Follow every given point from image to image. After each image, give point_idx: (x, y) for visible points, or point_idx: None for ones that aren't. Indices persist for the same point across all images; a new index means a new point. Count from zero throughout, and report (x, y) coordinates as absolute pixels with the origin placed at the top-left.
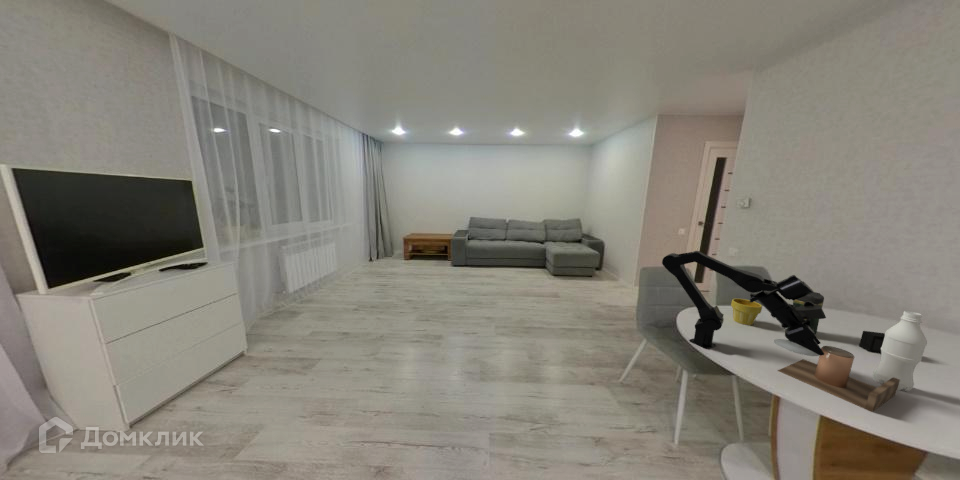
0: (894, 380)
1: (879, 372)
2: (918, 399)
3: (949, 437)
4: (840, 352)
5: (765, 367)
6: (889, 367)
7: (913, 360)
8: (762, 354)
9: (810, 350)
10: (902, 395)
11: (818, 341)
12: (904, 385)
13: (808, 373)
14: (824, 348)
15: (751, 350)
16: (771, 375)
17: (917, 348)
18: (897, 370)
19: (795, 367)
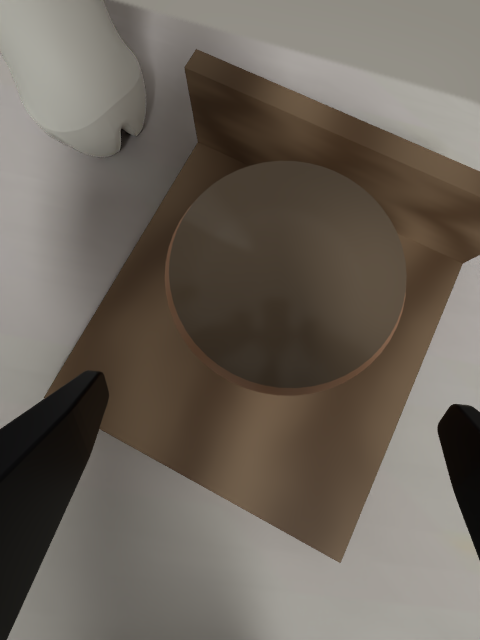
0: (231, 73)
1: (91, 109)
2: (157, 74)
3: (416, 88)
4: (317, 252)
5: (299, 605)
6: (85, 36)
7: None
8: (98, 602)
9: None
10: (160, 109)
11: (88, 392)
12: (139, 66)
13: (245, 407)
14: (312, 379)
15: None
16: (389, 583)
17: None
18: (103, 15)
19: (211, 458)
